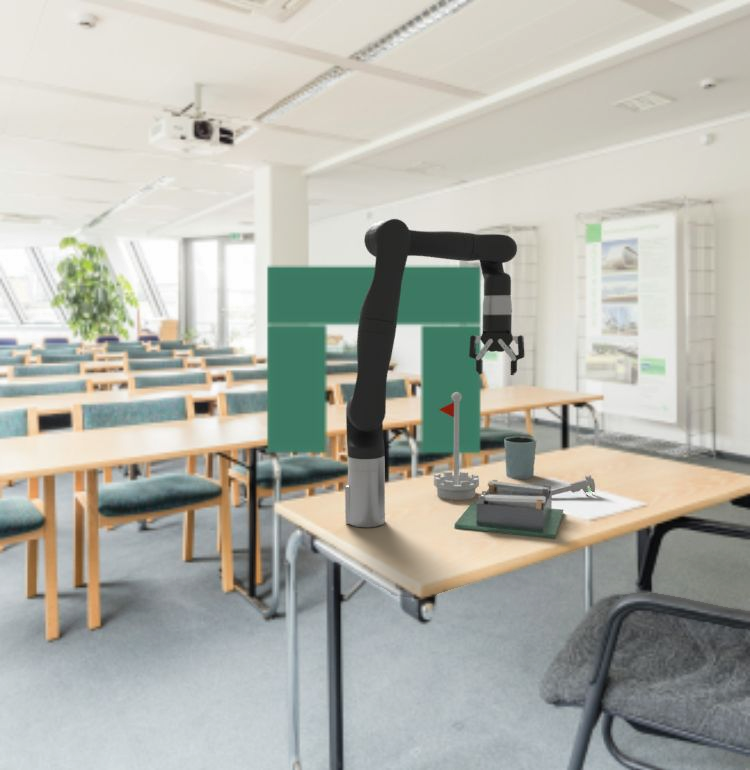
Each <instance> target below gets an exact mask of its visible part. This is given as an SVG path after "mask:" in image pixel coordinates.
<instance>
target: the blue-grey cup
mask: <svg viewBox="0 0 750 770" xmlns="http://www.w3.org/2000/svg"><path fill="white" fill-rule="evenodd" d="M503 443H504V453H505V454H504V455H505V456H504V457H505V459H504V460H505V474H506V477H508V478H510V477H511V478H510V479H514V478H516V480H528V478H529V479H532V478H534V473H535V459H536V447H537V439H536V438H534V437H530V436H519V435H518V436H515V435H514V436H508V437H505V438H504V439H503Z"/></svg>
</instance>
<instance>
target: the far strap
mask: <svg viewBox="0 0 750 770" xmlns="http://www.w3.org/2000/svg"><path fill="white" fill-rule="evenodd" d="M489 484H494V487H500V488H508V489H516V490H525V491H533V492H541V493H543V488H546V489H549V490H550V488H549V487H545V486H540V485H539V486H538V485H531V484H523V483H522V484H521V483H513V482H505V481H498V480H497V481H492V480H489V481H488V482H487V487H489Z"/></svg>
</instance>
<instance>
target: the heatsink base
mask: <svg viewBox="0 0 750 770" xmlns="http://www.w3.org/2000/svg"><path fill="white" fill-rule="evenodd" d="M491 481H498V480H497V479H492V480H491ZM551 485H552V484H550V483H545V484H544V487H549V488H550V490H549V489H546V488H543V493H541V492H533V491H525V490H516V489H508V488H500V487H494V484H489V486H488V489H487V490H482V491H481V495H478V497H477V501H472V502H471V503H470V505H469V506H468V507H467V508H466V510H465V511H463V513H462V514H461V516H460V517H459V518H458V519H457V521H455V522H454V529H461V530H462V529H463V530H471V531H480V532H488V533H496V534H497V533H499V534H500V533H501V534H508V535H517V536H519V535H520V536H526V537H536V538H537V537H538V538H546V539H553V540H555V539H556V537H557V534H558V531H559V528H560V525H561V522H562V520H563V517H564V514H563V511H564V510H565V509H562V508H553V507H552V504H553V502H552V500H553V499H552V496H553V495H552V491H551V488H552V487H551ZM482 494H487V495H515V496H543V497H546V500H545V503H542V501H536V503H534V502H508V501H485V496H482ZM562 516H563V517H562Z"/></svg>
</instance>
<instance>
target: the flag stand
mask: <svg viewBox="0 0 750 770" xmlns="http://www.w3.org/2000/svg"><path fill="white" fill-rule="evenodd" d="M462 399H463V395H462V394H461V393H460V392H458V391H455V392H453V393H452V394H451V400H452V401H453V402H451V403H448V404H447V405H445V406H443V407H441V408H439V409H438V411H440V412H442V413H444V414H446V415H449V416H450V417H452V418H453V471H443V475H441V473H439V472H438V473H436V474H434V475H433V485H434V487H436V495H437V496H438V497H439V496H440V497H439V498H442V499H445V500H456V501H457V500H458V501H461V500H469V499H473V498H475V497H476V489H477V488H478V487H480V478H479V475H478V474H476V473H471V476H470V475H469V472H468V471H461V470H460V402H461V400H462Z"/></svg>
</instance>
